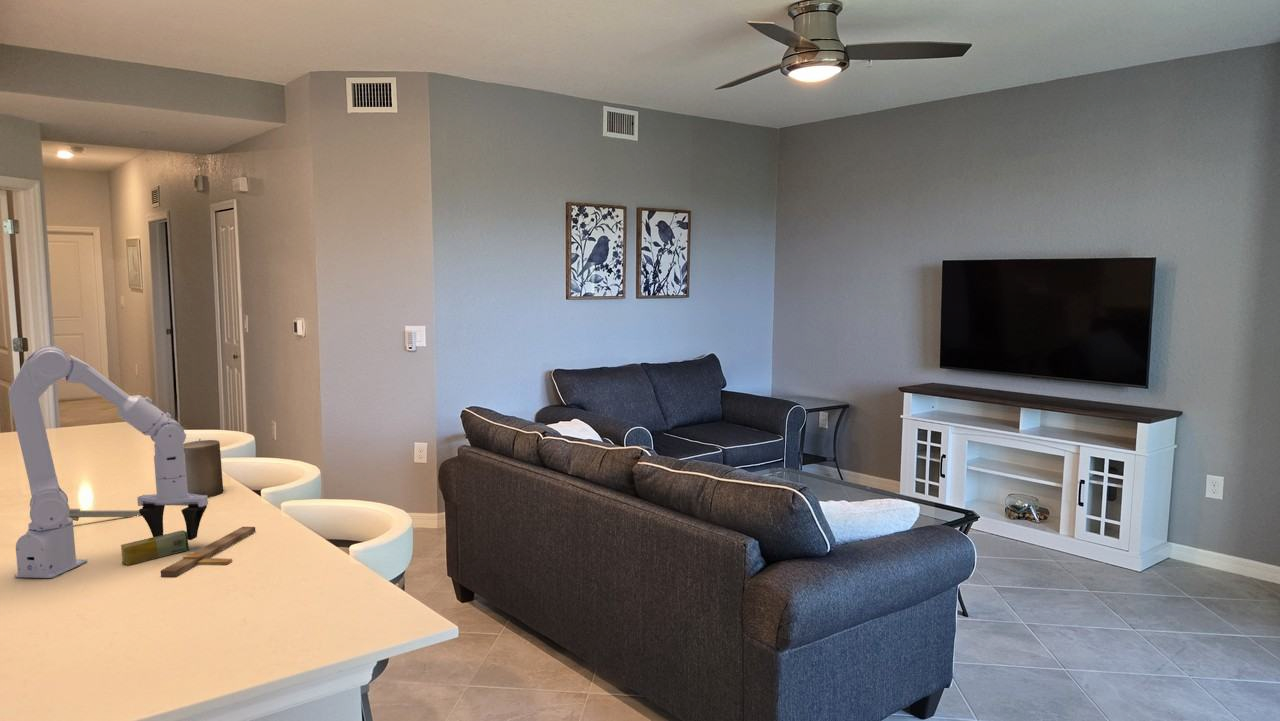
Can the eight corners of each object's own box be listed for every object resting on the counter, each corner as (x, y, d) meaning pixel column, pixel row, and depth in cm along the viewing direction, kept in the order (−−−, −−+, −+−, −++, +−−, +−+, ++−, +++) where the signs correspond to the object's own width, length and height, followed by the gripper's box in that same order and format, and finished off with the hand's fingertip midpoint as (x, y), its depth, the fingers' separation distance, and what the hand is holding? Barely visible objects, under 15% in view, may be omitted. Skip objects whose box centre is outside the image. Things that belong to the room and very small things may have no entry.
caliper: (43, 532, 190) (40, 506, 190) (43, 531, 191) (40, 505, 190) (146, 515, 203) (144, 490, 202) (145, 514, 204) (143, 489, 203)
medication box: (184, 547, 177) (183, 529, 177) (190, 550, 176) (188, 531, 175) (121, 563, 168) (119, 543, 168) (126, 566, 167) (124, 546, 166)
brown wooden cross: (205, 577, 160) (204, 570, 159) (160, 576, 160) (159, 569, 160) (280, 532, 187) (280, 525, 187) (242, 531, 188) (242, 525, 188)
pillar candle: (231, 489, 226) (227, 435, 224) (209, 499, 216) (204, 442, 215) (197, 489, 227) (193, 435, 225) (174, 499, 217) (169, 442, 216)
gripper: (214, 471, 180) (218, 533, 181) (151, 471, 181) (155, 532, 183) (194, 479, 173) (198, 543, 174) (128, 479, 174) (133, 542, 176)
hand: (175, 538), depth 178 cm, fingers open, 7 cm apart
